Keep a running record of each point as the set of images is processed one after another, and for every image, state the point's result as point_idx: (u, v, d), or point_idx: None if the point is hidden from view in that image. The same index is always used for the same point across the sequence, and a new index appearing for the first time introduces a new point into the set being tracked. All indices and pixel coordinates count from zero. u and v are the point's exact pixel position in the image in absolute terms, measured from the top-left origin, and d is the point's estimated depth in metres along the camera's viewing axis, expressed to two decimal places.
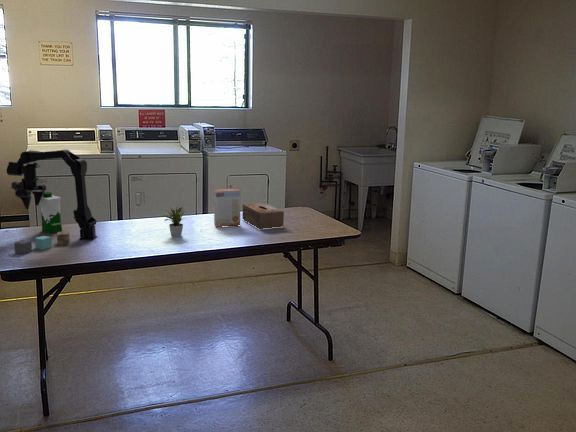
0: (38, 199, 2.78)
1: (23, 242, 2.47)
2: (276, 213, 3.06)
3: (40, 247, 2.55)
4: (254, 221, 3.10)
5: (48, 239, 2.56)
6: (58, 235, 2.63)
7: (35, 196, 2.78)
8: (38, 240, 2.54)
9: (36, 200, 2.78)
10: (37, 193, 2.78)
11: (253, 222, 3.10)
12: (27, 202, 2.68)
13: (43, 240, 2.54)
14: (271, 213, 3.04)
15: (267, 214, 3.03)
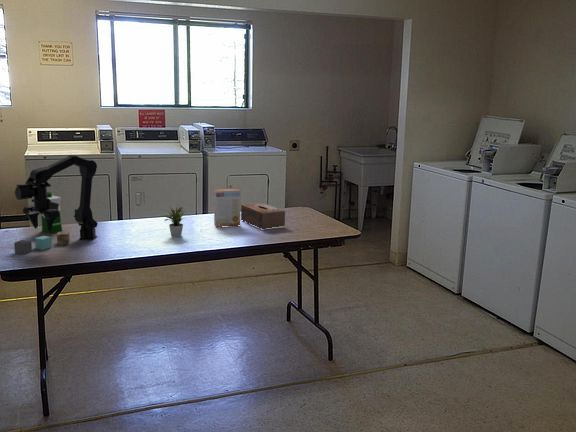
0: None
1: (23, 242, 2.48)
2: (278, 213, 3.06)
3: (40, 247, 2.55)
4: (255, 221, 3.09)
5: (48, 239, 2.56)
6: (58, 235, 2.63)
7: None
8: (38, 240, 2.54)
9: None
10: None
11: (255, 223, 3.10)
12: None
13: (43, 240, 2.54)
14: (273, 213, 3.05)
15: (269, 214, 3.04)
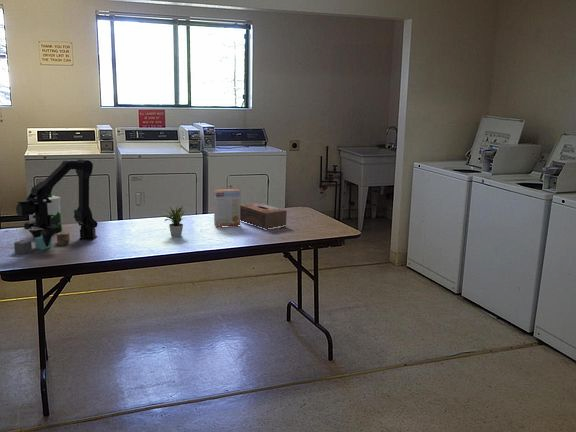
0: None
1: (23, 242, 2.47)
2: (280, 212, 3.08)
3: (40, 247, 2.55)
4: (257, 221, 3.09)
5: None
6: (58, 235, 2.63)
7: None
8: (38, 240, 2.54)
9: None
10: None
11: (256, 223, 3.09)
12: None
13: (43, 240, 2.54)
14: (276, 213, 3.06)
15: (272, 214, 3.04)
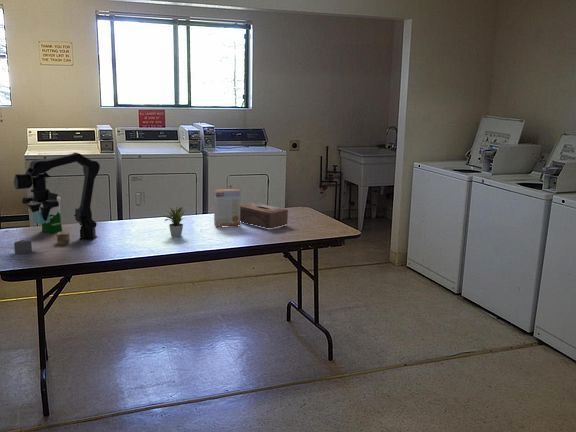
0: None
1: (23, 242, 2.48)
2: (282, 212, 3.09)
3: (38, 221, 2.56)
4: (259, 221, 3.09)
5: None
6: (58, 235, 2.63)
7: None
8: (36, 214, 2.55)
9: None
10: None
11: (259, 223, 3.09)
12: None
13: (41, 214, 2.55)
14: (278, 212, 3.07)
15: (275, 213, 3.05)
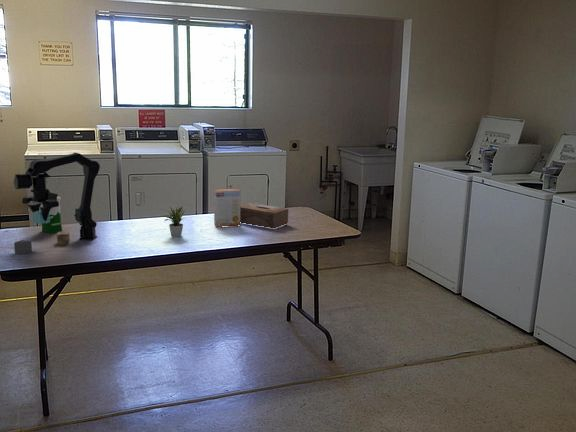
0: None
1: (23, 242, 2.48)
2: (284, 211, 3.11)
3: (38, 221, 2.56)
4: (261, 222, 3.09)
5: None
6: (58, 235, 2.63)
7: None
8: (36, 214, 2.55)
9: None
10: None
11: (261, 223, 3.09)
12: None
13: (41, 214, 2.55)
14: (281, 212, 3.09)
15: (278, 213, 3.07)
